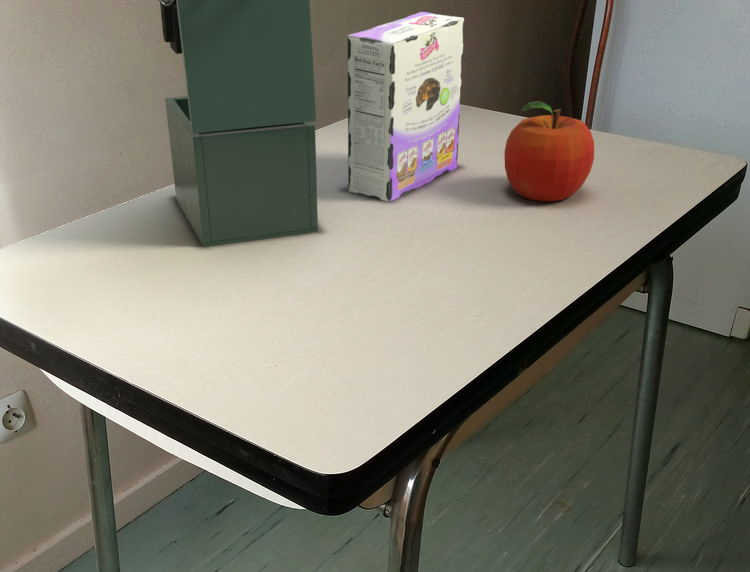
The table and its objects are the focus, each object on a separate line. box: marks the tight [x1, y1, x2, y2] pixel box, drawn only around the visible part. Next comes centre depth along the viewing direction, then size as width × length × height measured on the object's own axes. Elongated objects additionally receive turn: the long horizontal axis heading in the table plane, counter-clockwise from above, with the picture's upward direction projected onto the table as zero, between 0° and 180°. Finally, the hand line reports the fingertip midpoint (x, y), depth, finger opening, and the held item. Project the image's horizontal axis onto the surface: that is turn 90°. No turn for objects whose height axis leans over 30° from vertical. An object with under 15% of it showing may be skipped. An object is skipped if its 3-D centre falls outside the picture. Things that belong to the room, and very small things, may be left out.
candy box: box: [347, 11, 465, 202], centre depth 108 cm, size 14×6×16 cm, turn 144°
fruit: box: [503, 100, 595, 203], centre depth 107 cm, size 10×10×10 cm
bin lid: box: [176, 0, 317, 133], centre depth 87 cm, size 14×12×5 cm
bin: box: [164, 95, 319, 248], centre depth 101 cm, size 14×12×11 cm
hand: (228, 47), depth 94 cm, fingers open, 9 cm apart
